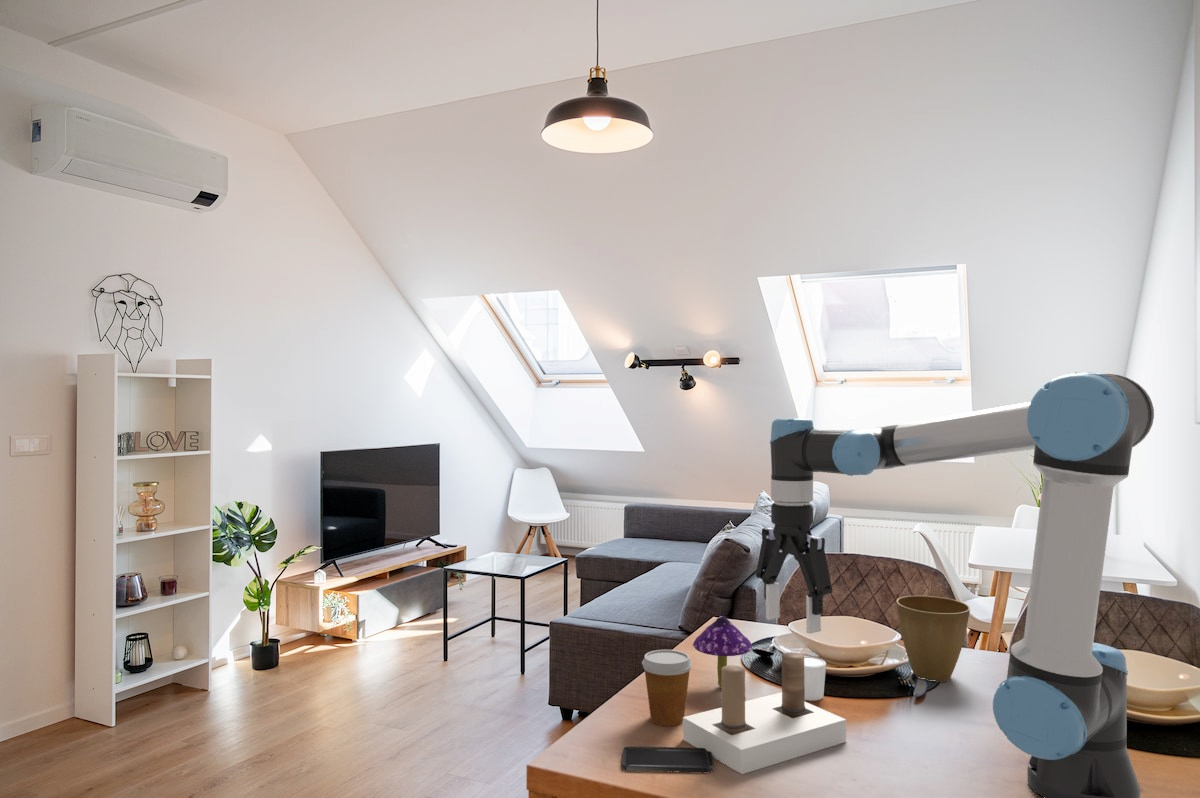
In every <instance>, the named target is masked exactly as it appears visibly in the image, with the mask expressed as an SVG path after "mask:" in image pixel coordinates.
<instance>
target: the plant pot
mask: <svg viewBox="0 0 1200 798" xmlns="http://www.w3.org/2000/svg"><path fill="white" fill-rule="evenodd" d="M896 609H897V617H898V623H899V628H900V633H901V638H902V641H903V645H904V649H905V653H906V656H907V658H908V662H909V665H910V667H911V670H912V673H913V675H914V674H915V675H916V676H917V677H920V678H925V679H928V680H936V681H940V682H939V683H944V682H947V681H949V680H950V679H951V677H952V676H953V675H952V674H954V671H955V668H956V665H957V662H958V660H959V657H960V656H961V655H960V654H961V651H962V648H963V644H964V641H965V637H966V634H967V628H968V623H969V618H970V611H971V607H970V606H969V604H967V603H966V602H962V601H960V600H956V599H951V598H949V597H947V598H946V597H940V596H932V595H906V596H901V597H898V598H897V599H896ZM915 675H914V676H915ZM916 676H915V677H916ZM917 677H916V678H917ZM920 678H919V679H920Z"/></svg>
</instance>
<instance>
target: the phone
mask: <svg viewBox="0 0 1200 798" xmlns="http://www.w3.org/2000/svg"><path fill="white" fill-rule="evenodd" d="M622 752H623V753H622V759H621V760H622V761H621V769H622V770H623V771H625V772H626V771H627V772H649V771H663V772H662V773H668V772H667V771H670V772H669V773H675V772H674V771H679V772H678V773H690V772H701V774H705V773H704V772H710V773H712V772H713V771H714V762H713V757H712V755H711V752H710V751H707V750H706V749H705V748H696V747H678V746H677V747H673V746H669V747H668V746H667V747H666V746H632V745H631V746H630V745H628V746H625V747H624V748H623V750H622ZM671 771H672V772H671ZM711 771H712V772H711Z"/></svg>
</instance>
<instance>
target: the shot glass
mask: <svg viewBox="0 0 1200 798" xmlns="http://www.w3.org/2000/svg"><path fill="white" fill-rule="evenodd" d="M826 669H827V662H826V661H825V660H823V659H822V658H818V657H812V656H804V683H805V701H820V700H821V699H824V693H825V681H826V671H827V670H826Z"/></svg>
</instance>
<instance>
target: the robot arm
mask: <svg viewBox="0 0 1200 798" xmlns="http://www.w3.org/2000/svg"><path fill="white" fill-rule="evenodd" d="M1154 410H1155V409H1154V405H1153V402H1152V399H1151V397H1150V395H1149V393H1148V392H1147V390H1145V389H1144V388H1143V386H1141V384H1139V383H1138V382H1136V381H1134V380H1133V379H1130V378H1128V377H1126V376H1123V375H1120V374H1113V373H1112V374H1111V373H1095V372H1094V373H1093V372H1089V371H1087V372H1078V371H1077V372H1073V373H1067V374H1065V375H1061V376H1057V377H1056V378H1053V379H1052V380H1049V381H1048V382H1046V383H1045V384H1044V385H1043V386H1041V387H1040V388H1039V389H1038V390H1037V392H1035V394H1034V395H1033V397H1032V399H1031V400H1030V401H1029V402H1022V403H1017V404H1016V403H1015V404H1010V405H1004V406H997V407H994V408H987V409H982V410H975V411H971V412H965V413H964V412H963V413H957V414H952V415H946V416H941V417H934V418H928V419H923V420H918V421H917V420H916V421H911V422H910V421H909V422H906V423H899V424H893V425H887V426H881V427H875V428H873V427H872V428H865V429H864V428H862V429H860V428H859V429H847V430H846V429H845V430H844V429H841V430H839V429H838V430H836V429H835V430H833V429H831V430H827V429H825V430H824V429H823V430H822V429H821V430H820V429H815V427H814V423H813V420H812V419H811V418H804V417H801V418H800V417H795V418H794V417H788V418H787V417H784V418H783V417H782V418H776V419H775V418H774V420H773V421H772V423H771V426H770V427H771V431H770V432H771V434H770V441H769V444H770V461H771V463H770V464H771V465H770V466H771V474H770V477H771V478H770V500H771V501H772V502H773V503H772V504H771V505H770V522H771V523H772V524H773V525H774V527H771V526H770V527H764V528H762V529H761V538H762V539H761V545H760V550H759V556H758V559H757V560H758V561H757V566H756V571H755V577H756V578H757V579H760V580H762V582H763V584H764V587H763V588H764V590H763V594H764V597H763V598H764V600H765V620H768V621H770V620H775V619H780V618H781V617H780V613H781V612H780V610H781V609H780V608H781V607H780V605H781V604H780V603H781V602H780V601H781V599H780V596H781V595H780V583H779V575H780V572H781V570H782V569H783V566H784V564H785V561H786V559H787V556H788V555H789V554H790V555H791V556H793V557H794V560H795V561H797V562H798V566H799V568H800V571H801V574H802V576H803V578H804V581H805V582H804V583H805V584H806V587H807V589H808V592H809V593H808V594H807V595H806V597H805V598H806V606H805V608H806V610H805V611H806V612H805V614H806V615H805V616H806V619H805V620H806V624H805V625H806V627H805V629H806V634H810V635H811V634H815V633H818V632H819V633H820V632H821V631H822V630H821V629H822V627H821V625H822V624H821V623H822V621H821V620H822V619H821V615H822V614H823V612H824V596H825V595H828V594H832V593H833V586H832V581H831V576H830V571H829V567H828V566H829V565H828V561H827V557H826V552H825V546H826V539H825V537H824V536H815V535H813V534H812V532H811V528H812V527H811V526H812V525H813V524H814V506H813V504H812V503H811V502H813V501H814V473H827V474H839V475H846V476H852V477H853V476H867V475H870V474H872V473H873V472H874V471H877V470H887V469H894V468H897V467H898V468H899V467H906V466H911V465H912V466H913V465H919V464H920V465H921V464H927V463H935V462H944V461H952V460H960V459H967V458H976V457H984V456H992V455H998V454H1007V453H1015V452H1022V451H1030V450H1031V451H1032V450H1034V451H1033V453H1034V454H1033V462H1032V465H1033V466H1034V467H1035V468H1036V469H1037V470H1038V472H1039V473H1040V474H1041V476H1042V486H1041V487H1042V488H1041V493H1040V495H1041V496H1040V500H1039V501H1040V503H1039V510H1038V520H1037V527H1036V535H1035V544H1034V551H1033V560H1032V569H1031V577H1030V585H1029V593H1028V601H1027V608H1026V616H1025V617H1026V618H1025V624H1024V625H1025V626H1024V633H1023V638H1021V640H1019V641H1017V642H1014V644H1012V645H1011V646H1010V651H1009V659H1008V665H1007V675H1006V679H1005V680H1003V681H1002V682H1000V684H998V685H999V686H998V688H997V689H996V691H995V693H994V694H993V698H992V712H993V716H994V720H995V722H996V724H997V725H998V728H999V729H1000V731H1002V733H1003V734H1004V736H1005V737H1006V739H1007V740H1008V741H1009V742H1010V743H1011V744H1012V745H1013V746H1014V747H1016V748H1017V749H1018V750H1020V751H1021V752H1023V753H1025V754H1027V755H1029V756H1030V759H1029V761H1028V764H1027V784H1028V787H1030V789H1033V790H1032V791H1033V792H1034V793H1036V794H1037V793H1038V794H1037V795H1039V794H1040V795H1041V796H1040V795H1039V796H1040V797H1042V796H1043V797H1045V798H1141V793H1142V792H1141V785H1140V784H1139V781H1138V777H1137V775H1136V772H1135V768H1134V766H1133V763H1132V761H1131V757H1130V756H1129V753H1128V748H1127V747H1128V746H1127V732H1128V731H1127V730H1128V729H1127V728H1128V727H1127V725H1128V724H1127V723H1128V722H1127V721H1128V720H1127V718H1128V717H1127V715H1128V714H1127V707H1128V705H1127V702H1128V701H1127V699H1128V698H1127V694H1128V693H1127V692H1128V691H1127V690H1128V689H1127V688H1128V687H1127V686H1128V684H1127V681H1128V679H1127V678H1128V674H1129V671H1128V670H1127V669H1128V668H1127V659H1126V656H1125V655H1124V653H1123V652H1122V651H1121V650H1120V649H1118V648H1115V647H1112V646H1109V645H1107V644H1102V643H1098V642H1094V639H1095V632H1096V626H1097V617H1098V608H1099V602H1100V596H1101V595H1100V594H1101V588H1102V579H1103V571H1104V563H1105V557H1106V556H1105V555H1106V549H1107V548H1106V547H1107V540H1108V532H1109V525H1110V519H1111V510H1112V501H1113V494H1114V487H1116V485H1118V484H1119V483H1121V482H1122V481H1124V480H1125V479H1127V478H1128V477H1129V472H1130V467H1131V466H1130V465H1131V458H1132V452H1133V448H1134V447H1136V446H1137V445H1139V444H1140V443H1141V442H1142V441H1144V439H1145V438H1146V437H1147V435H1149V433H1150V431H1151V429H1152V427H1153V423H1154V419H1155V411H1154ZM1043 797H1042V798H1043Z"/></svg>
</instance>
